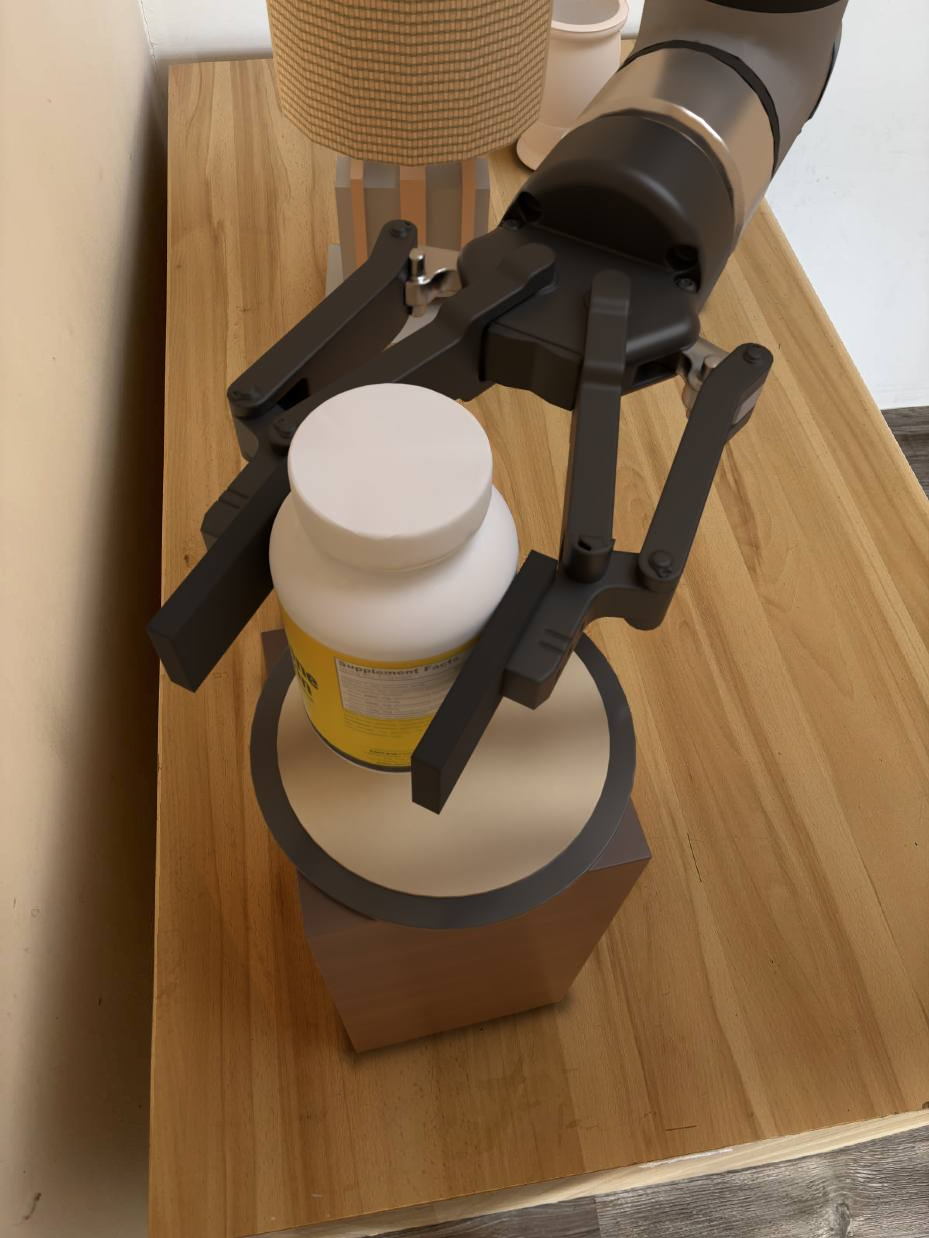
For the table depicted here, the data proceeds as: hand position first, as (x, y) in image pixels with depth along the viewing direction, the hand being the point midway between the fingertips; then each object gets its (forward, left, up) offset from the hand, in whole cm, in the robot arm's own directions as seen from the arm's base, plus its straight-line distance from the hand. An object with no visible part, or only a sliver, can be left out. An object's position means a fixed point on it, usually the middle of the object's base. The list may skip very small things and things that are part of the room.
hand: (294, 721), depth 23 cm
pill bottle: (+4, -3, -7) cm, 9 cm away
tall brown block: (+4, -5, -37) cm, 37 cm away
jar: (+80, -35, -37) cm, 94 cm away
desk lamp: (+58, -15, -37) cm, 70 cm away
